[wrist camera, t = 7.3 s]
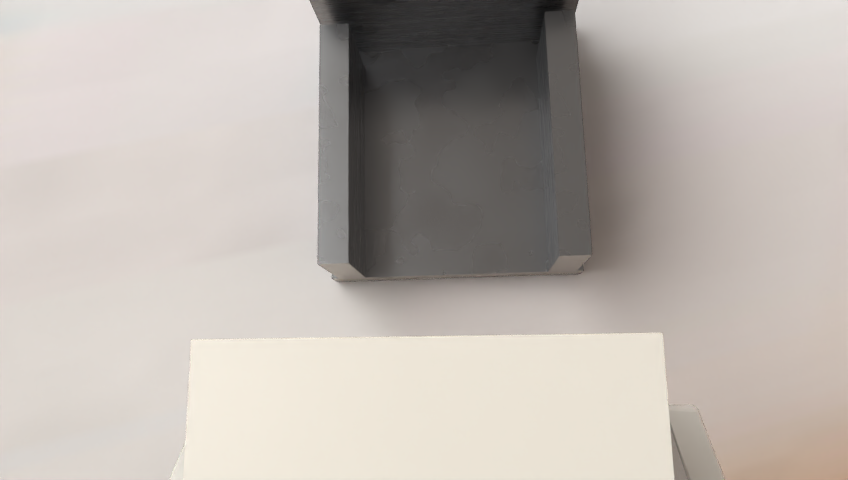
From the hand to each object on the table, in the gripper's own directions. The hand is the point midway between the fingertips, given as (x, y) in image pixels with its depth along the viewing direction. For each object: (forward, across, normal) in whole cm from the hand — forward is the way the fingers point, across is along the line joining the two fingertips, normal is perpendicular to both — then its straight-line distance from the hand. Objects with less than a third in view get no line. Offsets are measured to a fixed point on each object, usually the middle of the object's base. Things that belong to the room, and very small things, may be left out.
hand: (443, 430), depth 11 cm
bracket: (+21, 0, +5) cm, 21 cm away
